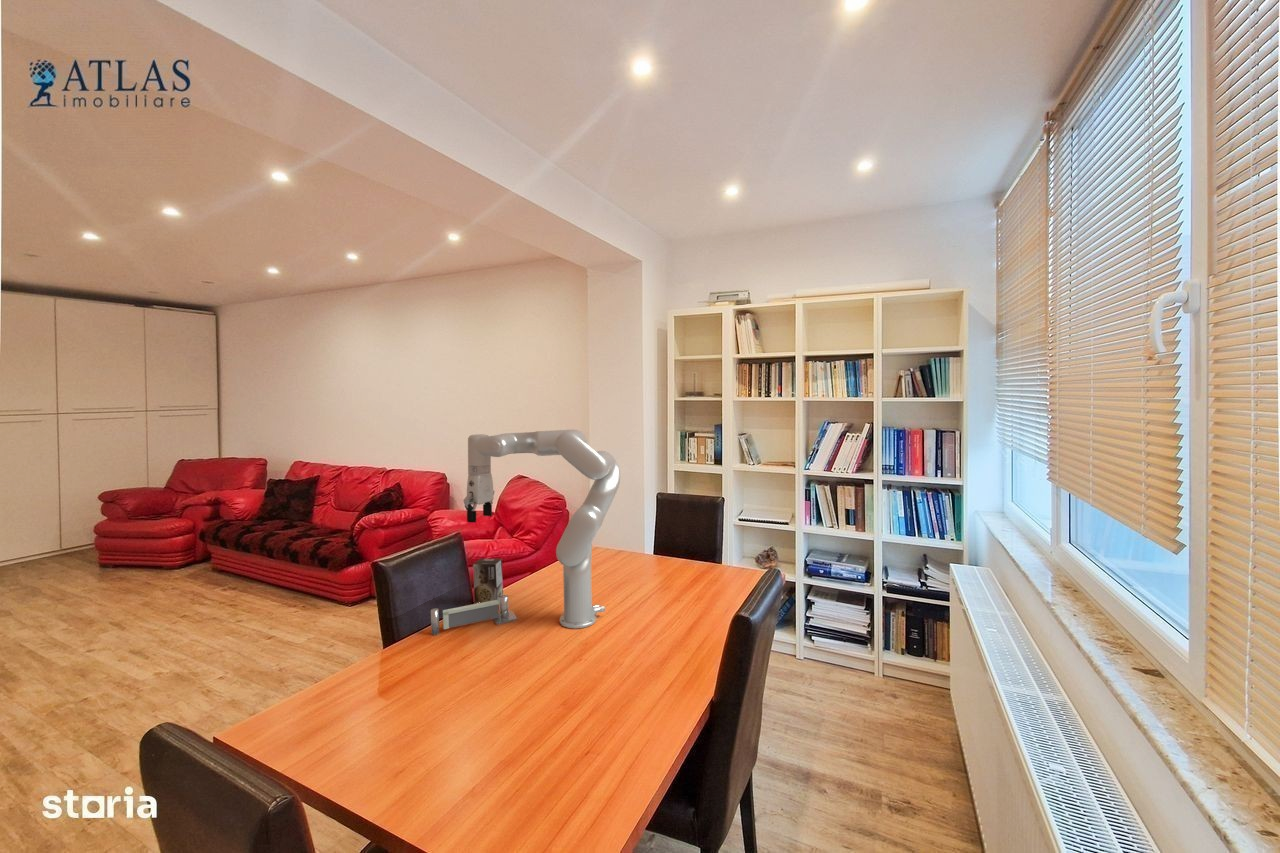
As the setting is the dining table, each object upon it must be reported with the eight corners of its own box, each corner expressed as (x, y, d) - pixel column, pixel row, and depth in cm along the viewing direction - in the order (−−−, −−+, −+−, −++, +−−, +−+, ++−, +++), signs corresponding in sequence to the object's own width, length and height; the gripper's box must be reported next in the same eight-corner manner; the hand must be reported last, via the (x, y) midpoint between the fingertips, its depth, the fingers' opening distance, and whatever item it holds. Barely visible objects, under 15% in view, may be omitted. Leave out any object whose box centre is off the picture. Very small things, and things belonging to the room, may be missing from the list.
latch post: (438, 631, 166) (438, 607, 165) (439, 634, 163) (438, 610, 163) (431, 633, 164) (430, 609, 164) (431, 636, 162) (431, 612, 162)
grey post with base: (512, 613, 179) (511, 591, 179) (517, 620, 173) (516, 598, 172) (492, 617, 176) (491, 595, 175) (496, 625, 170) (495, 602, 169)
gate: (498, 615, 174) (497, 599, 174) (499, 617, 173) (498, 601, 172) (443, 627, 166) (442, 610, 165) (443, 629, 164) (443, 612, 164)
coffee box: (503, 599, 191) (502, 558, 190) (497, 606, 185) (496, 564, 184) (481, 599, 192) (479, 558, 191) (473, 606, 186) (472, 563, 185)
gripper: (474, 474, 164) (475, 525, 165) (502, 467, 180) (502, 514, 181) (454, 473, 165) (455, 524, 166) (483, 466, 182) (484, 512, 183)
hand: (479, 518), depth 174 cm, fingers open, 9 cm apart
